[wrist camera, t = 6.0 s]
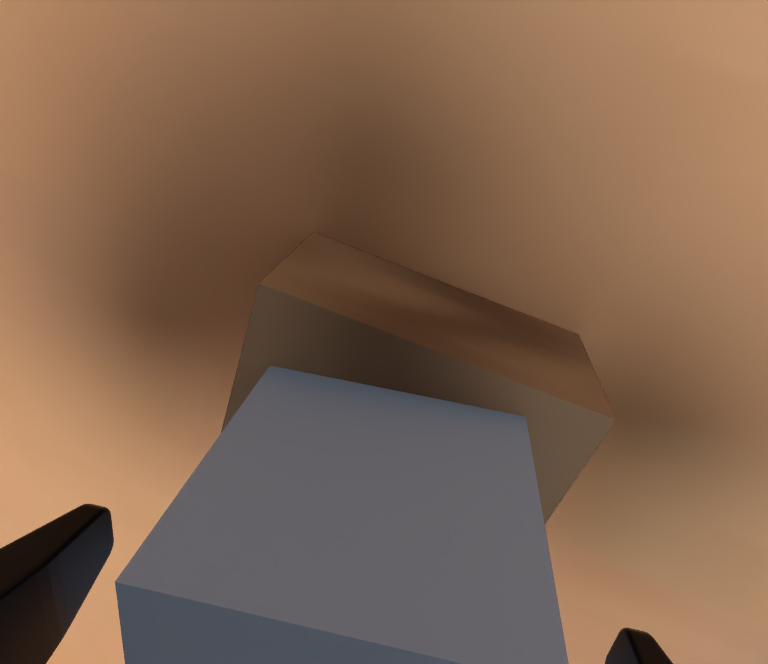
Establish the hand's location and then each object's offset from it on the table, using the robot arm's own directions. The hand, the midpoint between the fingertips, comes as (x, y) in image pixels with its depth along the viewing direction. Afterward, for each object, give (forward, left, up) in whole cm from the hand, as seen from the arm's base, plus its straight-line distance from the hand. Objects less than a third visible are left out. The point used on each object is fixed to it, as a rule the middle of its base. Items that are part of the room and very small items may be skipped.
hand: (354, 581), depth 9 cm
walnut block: (0, 0, -6) cm, 6 cm away
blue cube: (0, 0, -2) cm, 2 cm away
